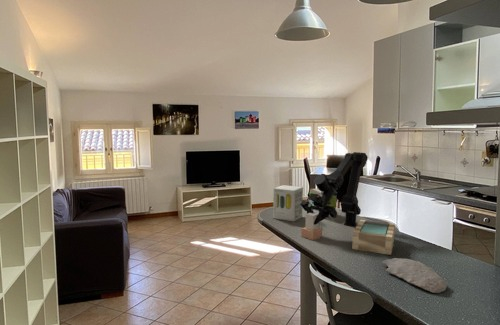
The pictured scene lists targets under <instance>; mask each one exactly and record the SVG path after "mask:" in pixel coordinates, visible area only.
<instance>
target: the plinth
mask: <svg viewBox="0 0 500 325" xmlns="http://www.w3.org/2000/svg"><path fill="white" fill-rule="evenodd" d="M300 229H301V230H300V232H301V233H300V234H301V235H300V236H301V237H302V238H305V239H308V240H312V241H314V240H318V239H321V238H322V237H323V228H321V227H319V229H316V230H309V229H306V228H305V226H304V227H301V228H300ZM320 237H321V238H320ZM317 238H318V239H317Z"/></svg>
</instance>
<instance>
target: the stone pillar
mask: <svg viewBox="0 0 500 325" xmlns="http://www.w3.org/2000/svg"><path fill="white" fill-rule="evenodd" d="M317 216H318V214H316V213H308V214H307V213H305V226H304V227H305V228H306V229H309V230H316V229H319V228H320V227H319V226H320V225H319V224H320V222H319V223H317V224H316V225H314V221H315V219H316V218H317Z"/></svg>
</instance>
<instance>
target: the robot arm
mask: <svg viewBox="0 0 500 325" xmlns="http://www.w3.org/2000/svg"><path fill="white" fill-rule="evenodd" d="M368 158H369V157H368V155H367V154H366V152H361V151H360V152H358V151H356V152H355V151H354V152H347V153H345V154H344V157H343V159H342V160H341V162H340V163H339V165H338V166H337V168H336V169H335V170H334V171H332V172H331V173H329V175H326V174H325V173H321V174H320V175H317V176H316V177H314V179H313V183H314V185H315V186H316V187H317V188H316V189H319V190H320V191H322V192H321V193H320V195H318V194H313V193H310V192H309V196H308V200H309V201H308V200H303V201H302V202H301V204H300V205H301V206H302V210H304V211H305V212H306V214H308V213H314V212H313V210H318V211H319V214H318V216H317V218H316V219H315V221H314V225H316V224H317V223H319V224H320V222H322V221H324V220H326V219H328V218H333V219H336V218H337V216H338V212H337V210H335V208H334V207H332V206H328V204H329V205H330V200H331V198H332V196H333V195H334V196H336V197H337V191H336V189H341V187H342V185H343V183H344V177H345V175H346V173H347V172H348V170H349V169H350V168H351V172H350V176H349V182H348V186H347V190H346V191H347V192H346V194H345V195H342V196H341V202H340V209H341V213H344V215H345V217H344V222H343V225H344V226H350V227H356V226H357V225H358V222H357V216H359V215H360V214H361V211H362V210H361V208H360V206H359V200H358V197H357V193H358V189H359V183H360V179H361V174H362V173H361V172H362V171H363V169H364V167H365V166H366V165H367V162H368ZM310 200H312V203H313V204H314V205H312V204H311V203H310ZM329 214H330V217H329Z"/></svg>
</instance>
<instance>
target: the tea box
mask: <svg viewBox="0 0 500 325" xmlns="http://www.w3.org/2000/svg"><path fill="white" fill-rule="evenodd" d="M321 192H322V191H320V190H319V189H318V188H309V194H310V193H313V194H318V195H320V193H321ZM309 202H310V203H311V204H312V205H314V204H313V203H312V200H309ZM336 204H337V195H336V196H334V195H333V196H332V198H331V200H330V205H329V204H328V206H332V207H334V208H335V210H336V208H337V207H336ZM336 211H337V210H336ZM313 212H314V213H316V214H319V211H318V210H313ZM329 218H331V217H330V214H329Z"/></svg>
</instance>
